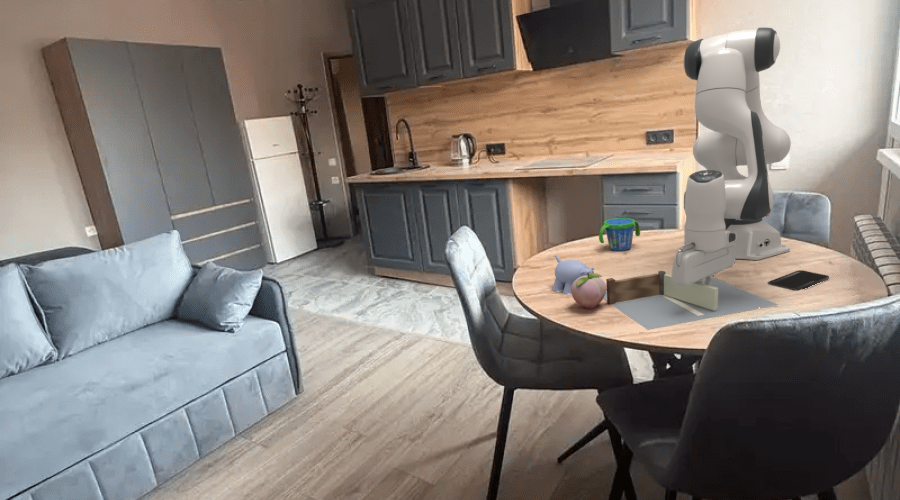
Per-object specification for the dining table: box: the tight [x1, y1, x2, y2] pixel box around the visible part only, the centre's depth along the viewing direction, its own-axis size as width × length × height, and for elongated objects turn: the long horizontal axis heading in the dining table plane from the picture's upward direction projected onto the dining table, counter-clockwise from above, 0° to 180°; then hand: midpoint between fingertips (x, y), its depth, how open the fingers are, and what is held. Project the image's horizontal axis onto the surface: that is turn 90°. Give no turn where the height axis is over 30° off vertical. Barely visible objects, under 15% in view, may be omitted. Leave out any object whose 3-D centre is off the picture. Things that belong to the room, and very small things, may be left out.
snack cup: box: [598, 217, 641, 252], centre depth 177 cm, size 16×10×10 cm
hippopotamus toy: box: [551, 255, 595, 296], centre depth 143 cm, size 11×15×10 cm
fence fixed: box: [605, 270, 666, 305], centre depth 131 cm, size 16×2×7 cm, turn 100°
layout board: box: [603, 277, 779, 331], centre depth 128 cm, size 34×26×1 cm
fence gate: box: [664, 273, 718, 311], centre depth 124 cm, size 15×1×6 cm, turn 26°
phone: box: [767, 270, 830, 292], centre depth 131 cm, size 8×1×15 cm
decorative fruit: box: [571, 272, 607, 309], centre depth 129 cm, size 9×8×10 cm
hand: (703, 292), depth 124 cm, fingers closed
